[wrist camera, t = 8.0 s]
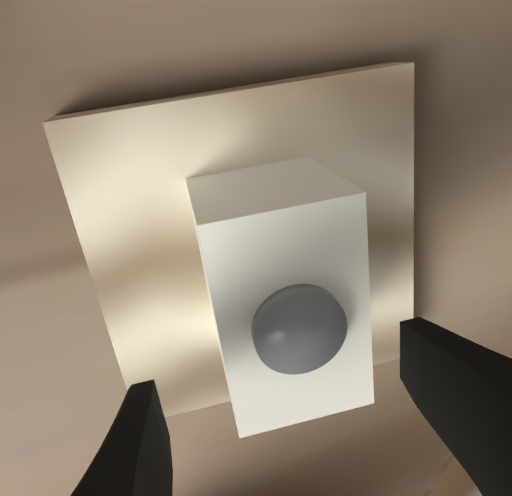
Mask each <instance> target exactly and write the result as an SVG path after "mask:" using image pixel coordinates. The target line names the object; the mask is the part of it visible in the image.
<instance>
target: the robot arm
mask: <svg viewBox="0 0 512 496" xmlns="http://www.w3.org/2000/svg"><path fill="white" fill-rule="evenodd" d="M400 378H401V380H402V382H403V384H404V385H405V387H406V389H407V391H408V393H409V394H410V396H411V398H412V399H413V401H414V403H415V404H416V406H417V408H418V409H419V410H420V412H421V413H422V414H423V416H424V417H425V418H426V420H427V421H428V422H429V424H430V425H431V426H432V428H433V429H434V430H435V431H436V433H437V434H438V435H439V437H440V438H441V439H442V441H443V442H444V443H445V444H446V446H447V447H448V448H449V450H450V451H451V452H452V453H453V455H454V456H455V457H456V459H457V460H458V461H459V463H460V464H461V465H462V466H463V468H464V469H465V470H466V472H467V473H468V475H469V476H470V477H471V479H472V480H473V482H474V483H475V484H476V486H477V487H478V489H479V491H480V492H481V494H482V495H483V496H512V359H511V358H509V357H506V356H504V355H501V354H499V353H497V352H494V351H492V350H490V349H488V348H485V347H483V346H481V345H479V344H477V343H474V342H472V341H470V340H468V339H466V338H464V337H461V336H459V335H457V334H455V333H453V332H451V331H449V330H447V329H445V328H443V327H440V326H438V325H436V324H434V323H432V322H430V321H427V320H425V319H423V318H420V317H417V318H413V319H409V320H404V321H400ZM172 482H173V469H172V457H171V446H170V436H169V432H168V428H167V425H166V421H165V417H164V414H163V410H162V406H161V403H160V399H159V395H158V392H157V388H156V385H155V381H154V379H153V380H149V381H144V382H140V383H136V384H132V385H131V386H130V387H129V389H128V391H127V394H126V396H125V398H124V401H123V403H122V405H121V407H120V409H119V412H118V414H117V416H116V418H115V420H114V422H113V424H112V426H111V428H110V430H109V432H108V434H107V436H106V438H105V440H104V441H103V443H102V445H101V447H100V449H99V451H98V452H97V454H96V456H95V457H94V459H93V461H92V463H91V464H90V466H89V468H88V469H87V471H86V473H85V474H84V476H83V478H82V479H81V481H80V482H79V484H78V485H77V487H76V488H75V490H74V491H73V493H72V494H71V496H172Z"/></svg>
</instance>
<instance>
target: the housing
mask: <svg viewBox="0 0 512 496" xmlns="http://www.w3.org/2000/svg"><path fill="white" fill-rule="evenodd" d="M185 180H186V185H187V190H188V195H189V200H190V205H191V210H192V215H193V220H194V225H195V230H196V235H197V239H198V244H199V249H200V254H201V259H202V264H203V269H204V274H205V279H206V284H207V289H208V294H209V299H210V304H211V309H212V314H213V319H214V324H215V329H216V334H217V339H218V343H219V348H220V353H221V357H222V362H223V366H224V371H225V375H226V380H227V384H228V389H229V393H230V398H231V402H232V407H233V411H234V416H235V420H236V425H237V429H238V434H239V438H243V437H246V436H250V435H254V434H258V433H262V432H266V431H269V430H273V429H277V428H281V427H285V426H289V425H292V424H296V423H300V422H304V421H308V420H312V419H315V418H319V417H323V416H327V415H331V414H335V413H338V412H342V411H346V410H350V409H354V408H358V407H361V406H365V405H369V404H373V403H374V386H373V361H372V335H371V310H370V284H369V259H368V234H367V208H366V192H364V191H363V190H361V189H360V188H358V187H357V186H355V185H353V184H352V183H350V182H349V181H347V180H346V179H344V178H343V177H341V176H339V175H338V174H336V173H335V172H333V171H332V170H330V169H328V168H327V167H325V166H324V165H322V164H321V163H319V162H317V161H316V160H314V159H313V158H311V157H310V156H307V157H301V158H296V159H290V160H285V161H279V162H274V163H268V164H263V165H258V166H252V167H247V168H241V169H236V170H230V171H225V172H219V173H214V174H208V175H203V176H197V177H192V178H186V179H185Z"/></svg>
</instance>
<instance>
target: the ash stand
mask: <svg viewBox="0 0 512 496" xmlns="http://www.w3.org/2000/svg"><path fill="white" fill-rule="evenodd" d="M42 123H43V126H44V129H45V132H46V136H47V139H48V142H49V145H50V148H51V151H52V154H53V158H54V161H55V164H56V167H57V170H58V173H59V177H60V180H61V183H62V186H63V189H64V192H65V196H66V199H67V202H68V205H69V208H70V211H71V215H72V218H73V221H74V224H75V227H76V230H77V234H78V237H79V240H80V243H81V246H82V249H83V253H84V256H85V259H86V262H87V265H88V268H89V272H90V275H91V278H92V281H93V284H94V287H95V291H96V294H97V297H98V300H99V303H100V306H101V309H102V313H103V316H104V319H105V322H106V325H107V328H108V332H109V335H110V338H111V341H112V344H113V347H114V351H115V354H116V357H117V360H118V363H119V366H120V370H121V373H122V376H123V379H124V382H125V385H126V389H127V391H128V389H129V387H130V386H131V385H132V384H136V383H140V382H144V381H149V380H153V379H154V381H155V385H156V388H157V392H158V395H159V399H160V403H161V406H162V410H163V414H164V417H169V416H173V415H177V414H181V413H185V412H189V411H193V410H197V409H201V408H205V407H209V406H213V405H217V404H221V403H225V402H229V401H231V398H230V393H229V389H228V384H227V380H226V375H225V371H224V366H223V362H222V357H221V353H220V348H219V343H218V339H217V334H216V329H215V324H214V319H213V314H212V309H211V304H210V299H209V294H208V289H207V284H206V279H205V274H204V269H203V264H202V259H201V254H200V249H199V244H198V239H197V235H196V230H195V225H194V220H193V215H192V210H191V205H190V200H189V195H188V190H187V185H186V180H185V179H186V178H192V177H197V176H203V175H208V174H214V173H219V172H225V171H230V170H236V169H241V168H247V167H252V166H258V165H263V164H268V163H274V162H279V161H285V160H290V159H296V158H301V157H307V156H310V157H311V158H313V159H314V160H316V161H317V162H319V163H321V164H322V165H324V166H325V167H327V168H328V169H330V170H332V171H333V172H335V173H336V174H338V175H339V176H341V177H343V178H344V179H346V180H347V181H349V182H350V183H352V184H353V185H355V186H357V187H358V188H360V189H361V190H363V191H364V192H366V208H367V234H368V259H369V284H370V310H371V335H372V361H373V365H377V364H381V363H385V362H389V361H393V360H397V359H400V321H404V320H409V319H413V307H414V62H387V63H381V64H375V65H368V66H362V67H356V68H350V69H343V70H337V71H331V72H325V73H319V74H312V75H306V76H300V77H294V78H287V79H281V80H275V81H269V82H262V83H256V84H250V85H244V86H237V87H231V88H225V89H219V90H212V91H206V92H200V93H194V94H188V95H181V96H175V97H169V98H163V99H156V100H150V101H144V102H138V103H131V104H125V105H119V106H113V107H106V108H100V109H94V110H88V111H82V112H75V113H69V114H63V115H57V116H53V117H51V118H49V119H48V120H46V121H44V122H42Z"/></svg>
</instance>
